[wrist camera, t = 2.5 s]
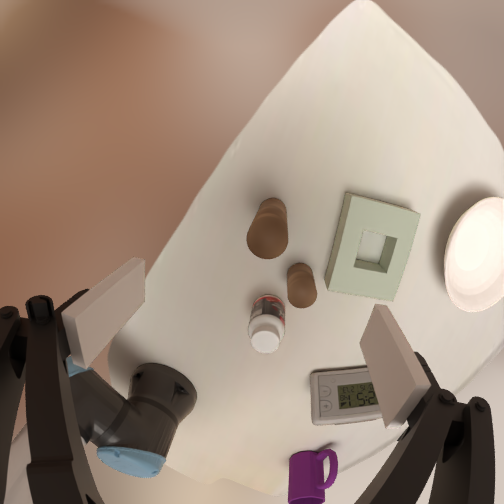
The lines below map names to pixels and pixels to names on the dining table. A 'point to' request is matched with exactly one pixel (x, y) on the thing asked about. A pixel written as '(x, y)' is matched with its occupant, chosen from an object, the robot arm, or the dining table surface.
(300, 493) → the mug
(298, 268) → the short dowel
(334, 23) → the dining table surface
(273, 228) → the long dowel
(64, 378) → the robot arm
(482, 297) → the bowl
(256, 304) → the pill bottle
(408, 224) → the hole board
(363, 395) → the digital clock
